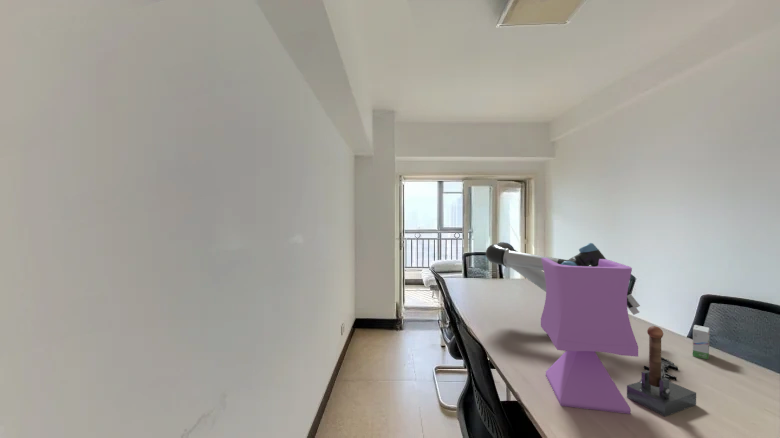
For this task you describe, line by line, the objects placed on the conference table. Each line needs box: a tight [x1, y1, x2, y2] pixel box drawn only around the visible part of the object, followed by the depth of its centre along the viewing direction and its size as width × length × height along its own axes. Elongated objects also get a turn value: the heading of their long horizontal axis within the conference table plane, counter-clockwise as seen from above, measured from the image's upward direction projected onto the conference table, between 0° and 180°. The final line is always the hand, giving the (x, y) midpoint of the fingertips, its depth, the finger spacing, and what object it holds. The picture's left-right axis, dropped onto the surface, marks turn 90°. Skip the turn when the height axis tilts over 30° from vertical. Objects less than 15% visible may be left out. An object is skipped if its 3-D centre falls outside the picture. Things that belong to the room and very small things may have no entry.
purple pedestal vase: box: [540, 258, 639, 415], centre depth 110 cm, size 22×22×45 cm
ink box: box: [692, 324, 710, 360], centre depth 139 cm, size 8×5×12 cm, turn 133°
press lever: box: [646, 325, 664, 387], centre depth 104 cm, size 4×4×19 cm
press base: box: [626, 370, 697, 417], centre depth 105 cm, size 11×16×9 cm
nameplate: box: [643, 356, 679, 382], centre depth 124 cm, size 28×2×10 cm
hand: (637, 310), depth 153 cm, fingers open, 13 cm apart
